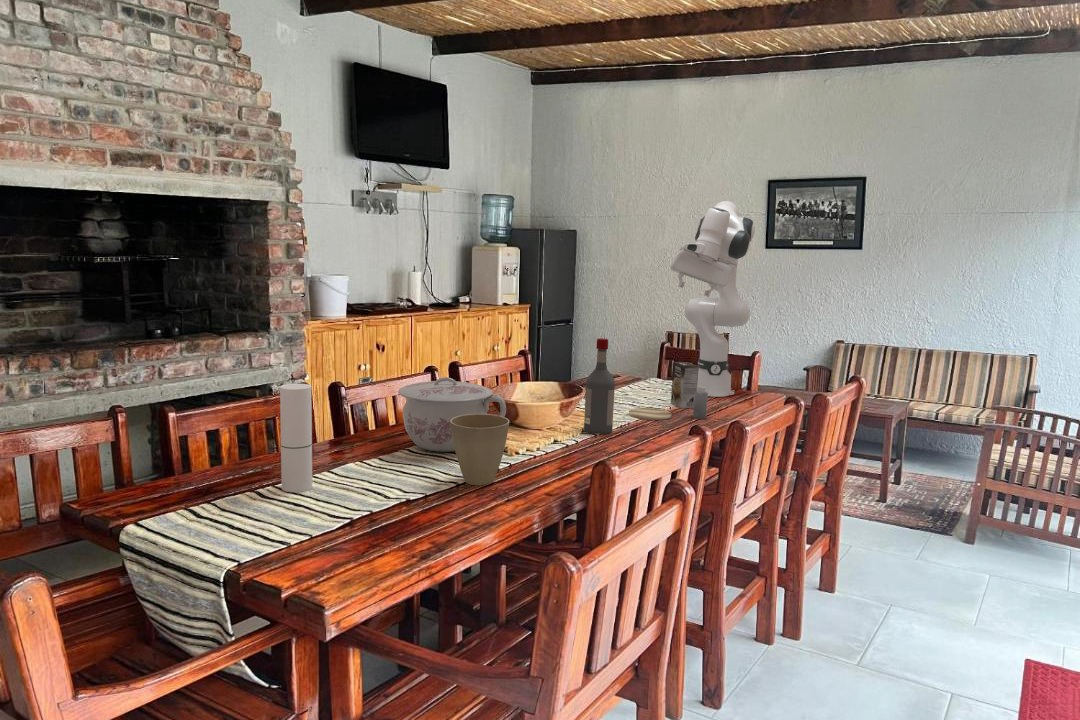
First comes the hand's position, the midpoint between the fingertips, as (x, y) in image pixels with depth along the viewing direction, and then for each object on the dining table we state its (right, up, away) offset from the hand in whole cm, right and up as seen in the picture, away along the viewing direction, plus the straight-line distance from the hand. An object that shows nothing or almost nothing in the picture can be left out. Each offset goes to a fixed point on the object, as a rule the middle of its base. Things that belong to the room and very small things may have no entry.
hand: (693, 291), depth 273 cm
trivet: (-13, -43, +13) cm, 47 cm away
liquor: (-33, -46, -12) cm, 58 cm away
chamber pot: (-80, -49, -37) cm, 101 cm away
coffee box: (+2, -41, +31) cm, 51 cm away
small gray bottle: (+4, -44, +12) cm, 46 cm away
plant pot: (-68, -54, -68) cm, 111 cm away
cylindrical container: (-111, -54, -78) cm, 146 cm away
